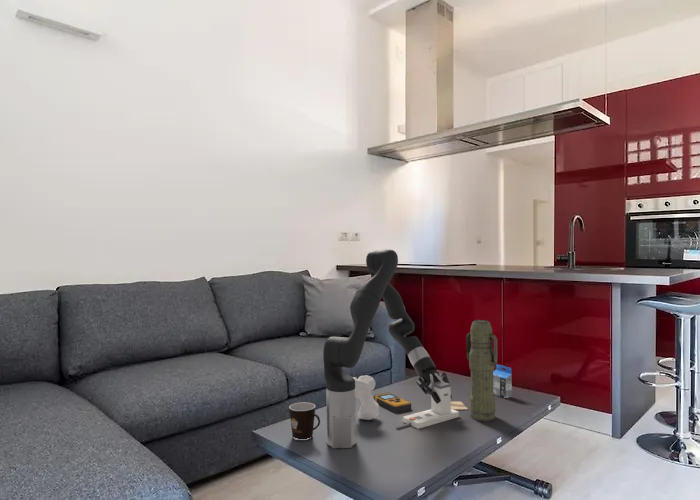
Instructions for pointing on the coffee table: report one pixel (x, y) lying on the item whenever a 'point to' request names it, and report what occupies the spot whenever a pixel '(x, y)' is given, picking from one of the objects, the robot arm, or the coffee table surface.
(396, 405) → the electronic device
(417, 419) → the power strip
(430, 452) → the coffee table surface
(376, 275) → the robot arm
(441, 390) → the block
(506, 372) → the label tape box
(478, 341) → the thermos
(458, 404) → the cork coaster
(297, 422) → the coffee mug
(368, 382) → the white irregular upright piece
